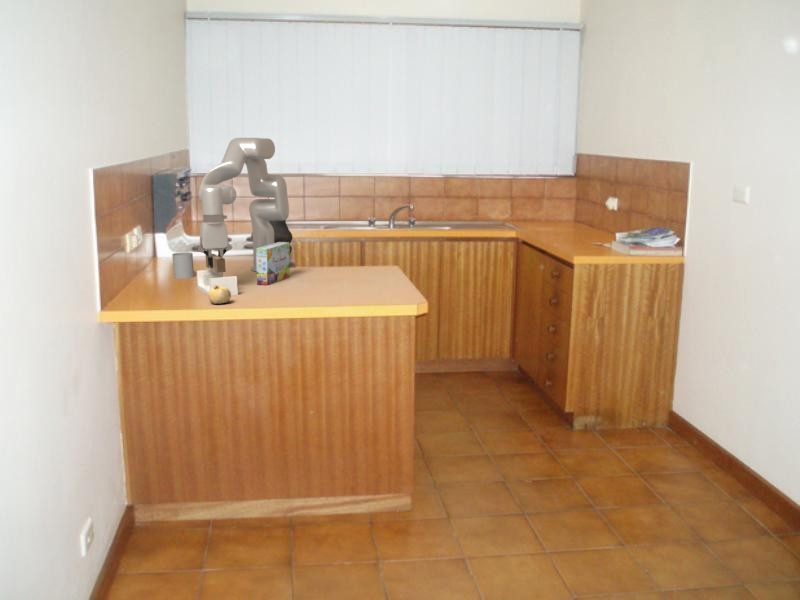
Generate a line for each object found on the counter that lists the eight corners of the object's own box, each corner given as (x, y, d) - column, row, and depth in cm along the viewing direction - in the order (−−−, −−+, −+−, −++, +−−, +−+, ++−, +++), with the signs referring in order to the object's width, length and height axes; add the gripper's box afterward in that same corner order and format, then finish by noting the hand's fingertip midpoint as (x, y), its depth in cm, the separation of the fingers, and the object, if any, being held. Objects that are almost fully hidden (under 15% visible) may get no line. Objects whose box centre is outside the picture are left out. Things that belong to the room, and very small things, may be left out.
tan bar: (214, 266, 308) (213, 253, 307) (225, 271, 294) (225, 258, 293) (206, 266, 307) (205, 254, 306) (217, 272, 293) (216, 259, 292)
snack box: (268, 285, 314) (267, 248, 310) (256, 285, 315) (254, 248, 312) (291, 276, 333) (290, 241, 330) (279, 276, 335) (277, 241, 332)
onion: (210, 301, 285) (209, 282, 283) (232, 300, 285) (231, 281, 284) (206, 306, 277) (205, 286, 275) (229, 305, 277) (228, 286, 276)
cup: (188, 279, 328) (186, 255, 326) (170, 278, 330) (168, 255, 328) (197, 275, 336) (195, 252, 334) (179, 275, 338) (178, 252, 336)
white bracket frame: (222, 285, 314) (221, 268, 312) (237, 294, 296) (236, 276, 294) (197, 288, 309) (196, 270, 308) (211, 297, 291) (210, 279, 289)
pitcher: (244, 257, 387) (241, 206, 382) (267, 251, 406) (265, 203, 401) (279, 259, 379) (277, 207, 374) (302, 253, 399) (300, 204, 393)
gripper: (231, 217, 303) (233, 264, 307) (189, 219, 296) (192, 267, 300) (236, 219, 297) (238, 266, 301) (194, 221, 289) (197, 270, 293)
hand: (215, 266), depth 300 cm, fingers closed on tan bar, 2 cm apart
